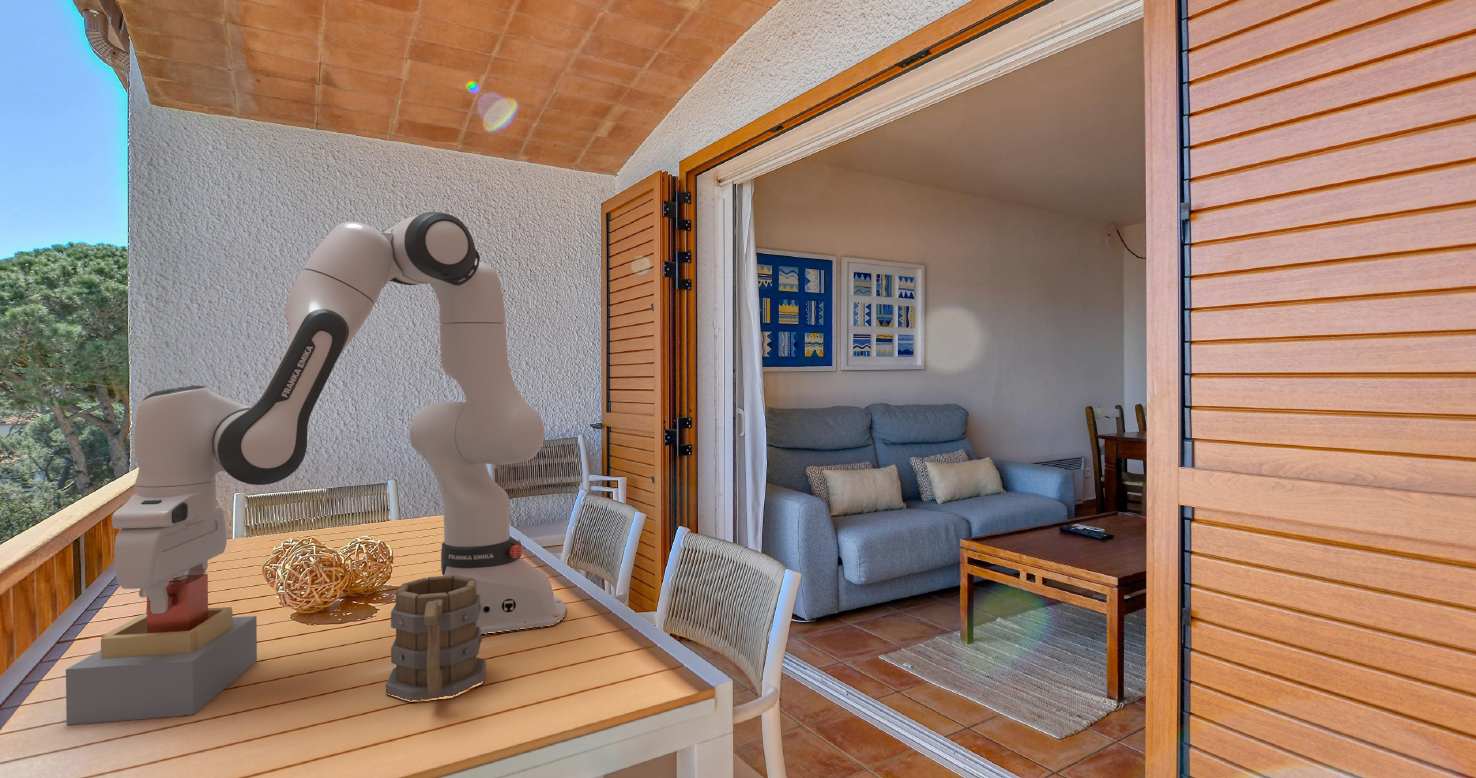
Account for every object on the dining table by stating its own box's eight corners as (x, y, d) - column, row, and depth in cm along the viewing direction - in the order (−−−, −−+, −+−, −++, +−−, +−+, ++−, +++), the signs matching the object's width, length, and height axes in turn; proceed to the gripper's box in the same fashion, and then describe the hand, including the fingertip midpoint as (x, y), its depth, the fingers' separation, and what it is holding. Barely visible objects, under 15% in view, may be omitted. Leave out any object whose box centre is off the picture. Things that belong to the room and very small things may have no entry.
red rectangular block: (208, 629, 104) (207, 571, 104) (188, 642, 99) (188, 580, 99) (153, 632, 103) (152, 573, 103) (131, 645, 98) (130, 583, 98)
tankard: (397, 670, 108) (396, 569, 108) (487, 661, 111) (486, 563, 111) (368, 733, 89) (367, 611, 88) (478, 720, 92) (477, 602, 92)
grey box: (262, 656, 113) (262, 595, 113) (192, 714, 93) (192, 641, 93) (160, 663, 110) (159, 600, 110) (66, 724, 91) (65, 649, 91)
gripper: (191, 492, 110) (193, 583, 110) (102, 518, 90) (103, 628, 90) (238, 491, 111) (239, 580, 112) (160, 516, 91) (161, 625, 92)
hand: (178, 602), depth 101 cm, fingers open, 6 cm apart
